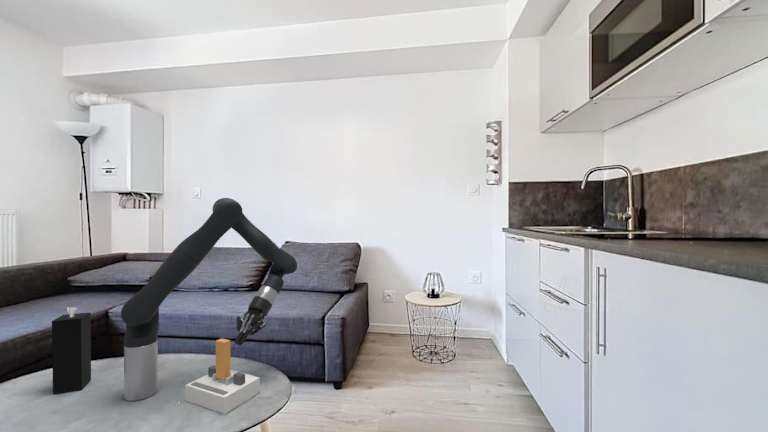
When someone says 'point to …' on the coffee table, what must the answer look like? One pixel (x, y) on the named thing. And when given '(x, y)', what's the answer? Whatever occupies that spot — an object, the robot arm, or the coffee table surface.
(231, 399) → the white slotted plate
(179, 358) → the coffee table surface
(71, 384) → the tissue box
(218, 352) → the breaker handle
